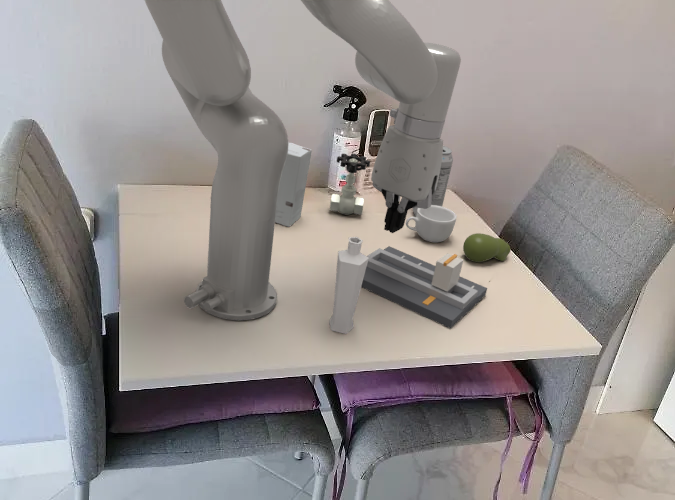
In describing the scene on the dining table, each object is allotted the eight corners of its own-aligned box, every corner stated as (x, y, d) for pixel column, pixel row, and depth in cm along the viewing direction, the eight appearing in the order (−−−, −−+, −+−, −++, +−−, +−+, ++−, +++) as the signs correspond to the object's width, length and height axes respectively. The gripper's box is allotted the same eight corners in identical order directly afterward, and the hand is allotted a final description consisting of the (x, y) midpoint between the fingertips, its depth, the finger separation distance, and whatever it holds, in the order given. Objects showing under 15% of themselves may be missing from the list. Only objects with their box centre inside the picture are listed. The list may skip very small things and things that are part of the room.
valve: (361, 222, 138) (370, 167, 133) (328, 218, 138) (336, 162, 132) (361, 209, 144) (370, 155, 138) (329, 204, 144) (337, 151, 138)
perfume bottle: (358, 321, 107) (373, 236, 100) (352, 336, 103) (368, 249, 96) (329, 314, 108) (343, 229, 101) (323, 329, 104) (336, 242, 97)
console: (450, 328, 109) (454, 314, 107) (346, 279, 118) (348, 266, 116) (485, 295, 119) (489, 282, 118) (387, 253, 128) (390, 240, 127)
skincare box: (252, 216, 134) (258, 145, 127) (265, 206, 139) (272, 136, 132) (291, 228, 132) (300, 156, 125) (303, 217, 137) (312, 146, 130)
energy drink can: (427, 207, 149) (442, 142, 142) (445, 219, 145) (460, 153, 138) (405, 211, 146) (419, 144, 139) (423, 223, 142) (437, 155, 135)
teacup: (442, 228, 141) (447, 204, 139) (456, 246, 135) (462, 222, 132) (396, 228, 138) (401, 204, 136) (409, 246, 132) (414, 221, 129)
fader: (445, 297, 113) (453, 266, 110) (429, 290, 115) (437, 259, 112) (456, 288, 116) (464, 257, 114) (440, 281, 118) (448, 251, 115)
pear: (463, 227, 130) (502, 231, 135) (453, 252, 132) (492, 254, 137) (480, 241, 125) (520, 244, 130) (470, 266, 127) (510, 268, 132)
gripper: (366, 113, 108) (344, 218, 116) (450, 144, 101) (420, 253, 110) (390, 108, 114) (367, 208, 122) (471, 137, 107) (440, 241, 115)
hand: (392, 229), depth 116 cm, fingers closed
